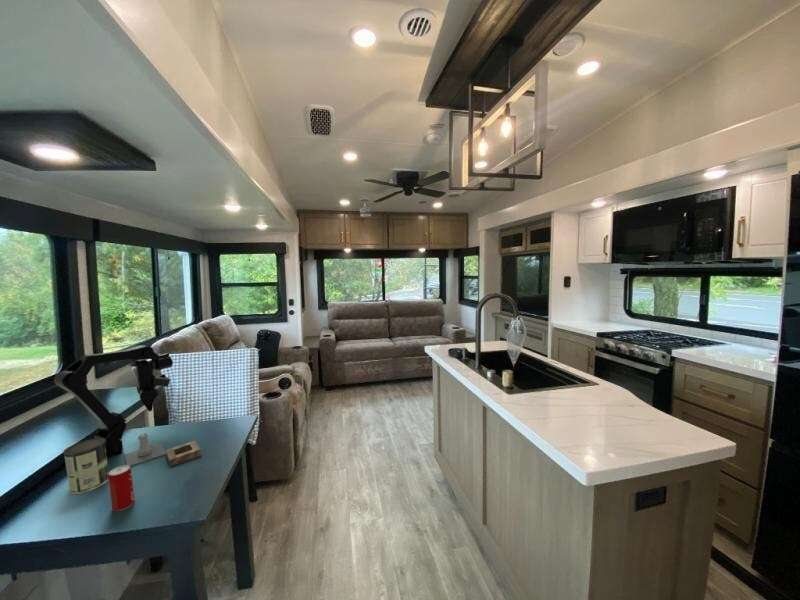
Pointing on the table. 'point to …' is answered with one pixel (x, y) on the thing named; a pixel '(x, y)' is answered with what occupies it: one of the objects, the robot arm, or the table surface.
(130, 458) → the grey mat
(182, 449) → the brown wooden frame
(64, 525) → the table surface
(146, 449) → the rook chess piece
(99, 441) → the coffee can
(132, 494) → the soda can
